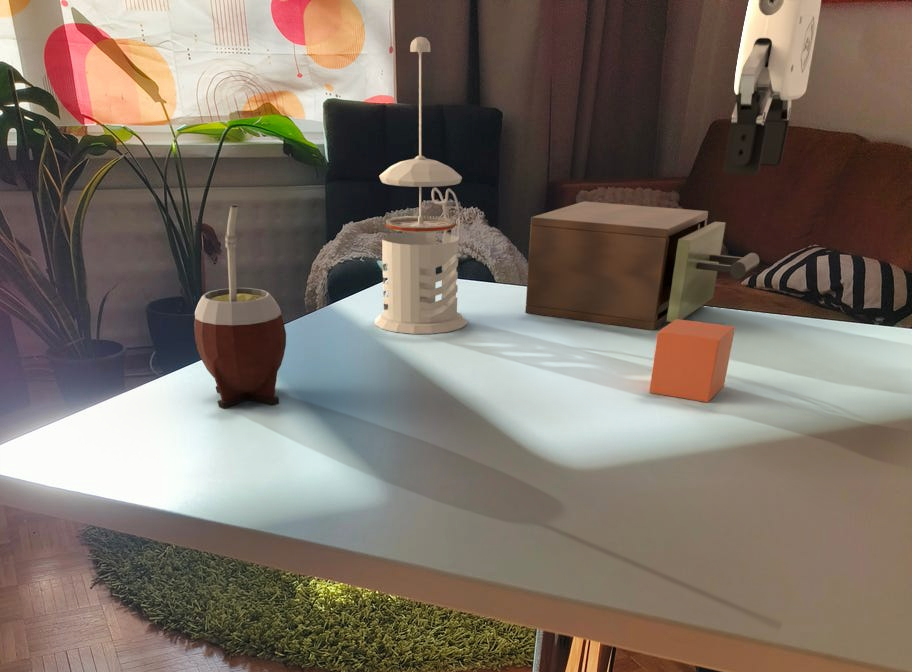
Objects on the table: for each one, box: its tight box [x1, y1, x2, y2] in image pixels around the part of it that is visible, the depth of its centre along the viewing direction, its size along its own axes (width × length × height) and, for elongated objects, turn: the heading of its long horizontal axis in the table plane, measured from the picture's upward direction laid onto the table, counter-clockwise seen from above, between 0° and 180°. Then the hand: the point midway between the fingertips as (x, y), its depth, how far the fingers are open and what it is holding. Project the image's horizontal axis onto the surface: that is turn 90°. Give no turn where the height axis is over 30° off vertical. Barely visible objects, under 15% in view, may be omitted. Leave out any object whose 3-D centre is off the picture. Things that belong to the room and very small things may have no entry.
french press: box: [374, 36, 468, 335], centre depth 88 cm, size 10×12×25 cm
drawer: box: [658, 221, 760, 323], centre depth 95 cm, size 18×13×8 cm
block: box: [648, 319, 736, 403], centre depth 74 cm, size 5×5×5 cm
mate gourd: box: [193, 203, 287, 409], centre depth 68 cm, size 8×8×15 cm
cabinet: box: [524, 201, 709, 331], centre depth 98 cm, size 15×15×10 cm
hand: (752, 169), depth 87 cm, fingers open, 9 cm apart
